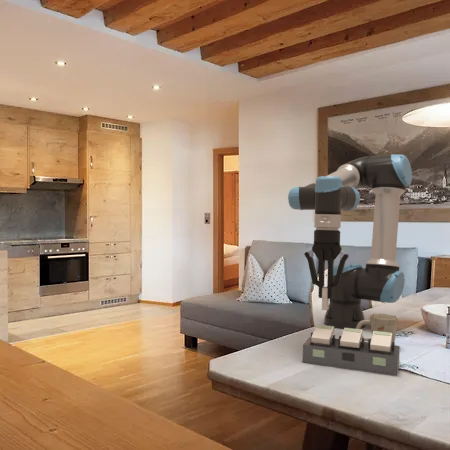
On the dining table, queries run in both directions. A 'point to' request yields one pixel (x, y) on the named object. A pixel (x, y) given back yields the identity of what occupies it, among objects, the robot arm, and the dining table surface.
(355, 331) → the rocker
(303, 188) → the robot arm
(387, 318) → the mug
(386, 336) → the rocker
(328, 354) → the console
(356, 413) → the dining table surface
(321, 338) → the rocker
